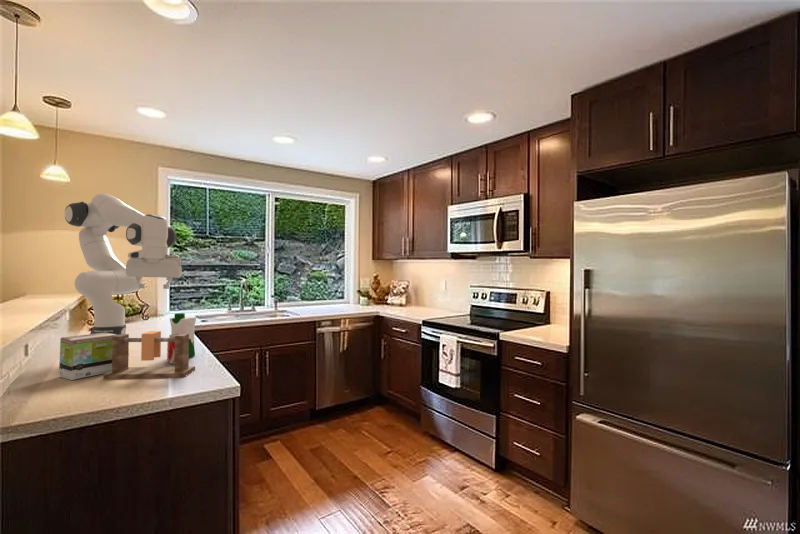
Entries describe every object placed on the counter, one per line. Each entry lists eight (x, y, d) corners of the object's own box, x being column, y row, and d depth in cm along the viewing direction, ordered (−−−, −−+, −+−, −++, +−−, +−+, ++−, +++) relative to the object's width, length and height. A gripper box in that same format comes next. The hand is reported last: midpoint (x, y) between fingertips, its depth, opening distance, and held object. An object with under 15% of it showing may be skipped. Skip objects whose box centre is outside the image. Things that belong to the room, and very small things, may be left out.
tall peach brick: (141, 360, 145) (141, 333, 145) (149, 356, 151) (149, 331, 151) (152, 360, 146) (152, 333, 146) (160, 356, 152) (160, 331, 152)
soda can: (177, 365, 161) (177, 336, 161) (163, 364, 163) (163, 336, 163) (190, 361, 168) (190, 333, 168) (176, 360, 170) (176, 333, 170)
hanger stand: (103, 378, 142) (103, 337, 142) (119, 371, 152) (120, 333, 152) (184, 377, 145) (184, 337, 145) (195, 369, 155) (195, 332, 155)
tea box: (72, 381, 139) (72, 340, 139) (58, 377, 143) (58, 337, 143) (118, 371, 152) (118, 333, 152) (104, 367, 157) (105, 331, 157)
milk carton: (166, 358, 173) (167, 313, 173) (183, 354, 182) (183, 311, 182) (182, 360, 171) (183, 314, 171) (198, 355, 179) (199, 312, 179)
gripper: (185, 255, 162) (184, 288, 162) (132, 253, 159) (131, 287, 159) (178, 255, 155) (177, 289, 156) (123, 253, 153) (122, 288, 153)
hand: (153, 288), depth 157 cm, fingers open, 8 cm apart
